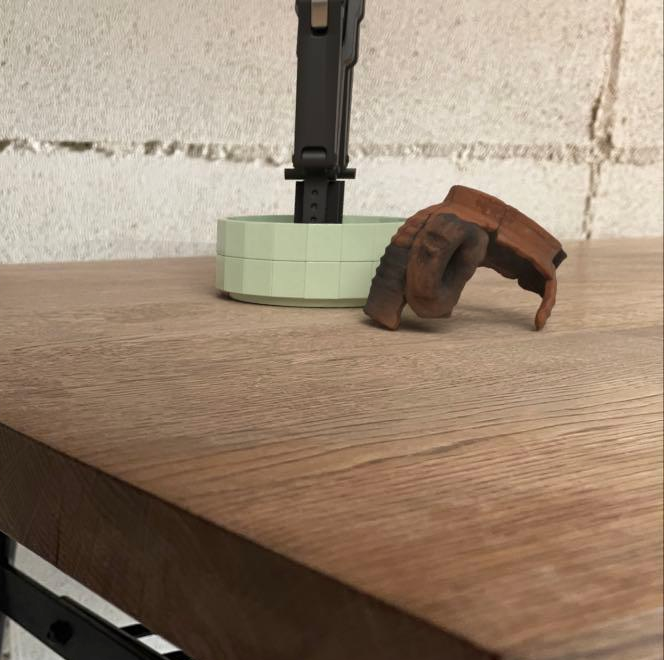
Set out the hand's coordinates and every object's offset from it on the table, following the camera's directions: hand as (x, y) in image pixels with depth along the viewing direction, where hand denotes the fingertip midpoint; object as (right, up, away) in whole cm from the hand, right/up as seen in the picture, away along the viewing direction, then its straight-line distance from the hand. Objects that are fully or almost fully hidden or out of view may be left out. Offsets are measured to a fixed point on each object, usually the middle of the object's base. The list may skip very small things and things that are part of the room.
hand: (315, 283), depth 74 cm
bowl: (0, -1, 0) cm, 1 cm away
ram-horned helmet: (+5, -6, -14) cm, 15 cm away
